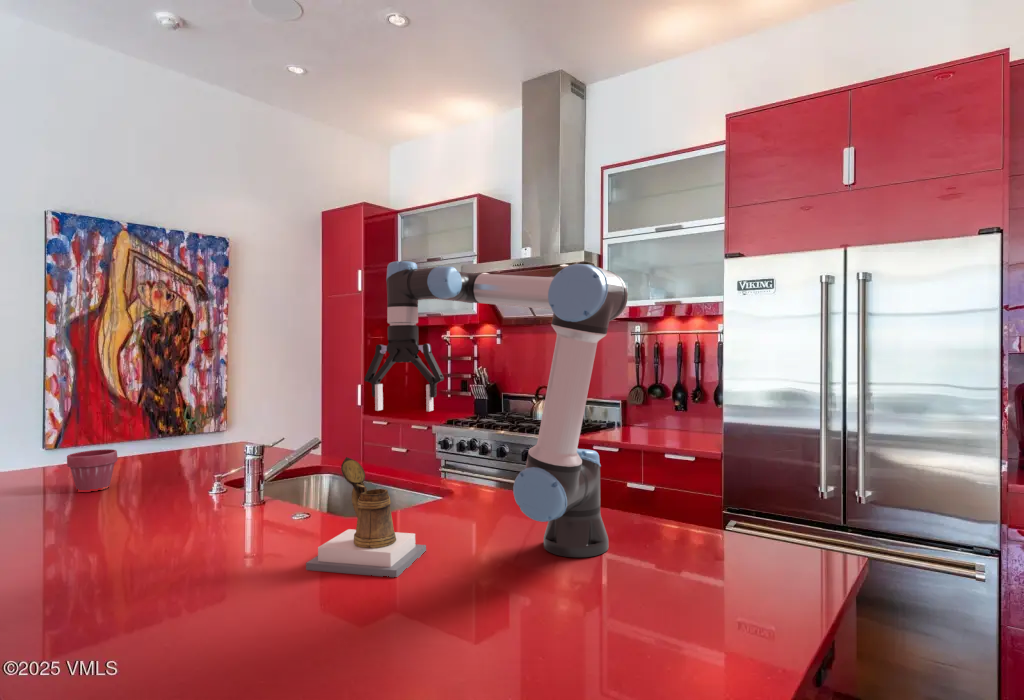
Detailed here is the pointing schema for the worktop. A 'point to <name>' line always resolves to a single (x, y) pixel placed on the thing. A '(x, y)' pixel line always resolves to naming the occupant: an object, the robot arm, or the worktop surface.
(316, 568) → the plate
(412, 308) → the robot arm
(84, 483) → the plant pot
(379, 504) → the wooden mug
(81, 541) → the worktop surface
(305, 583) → the worktop surface
